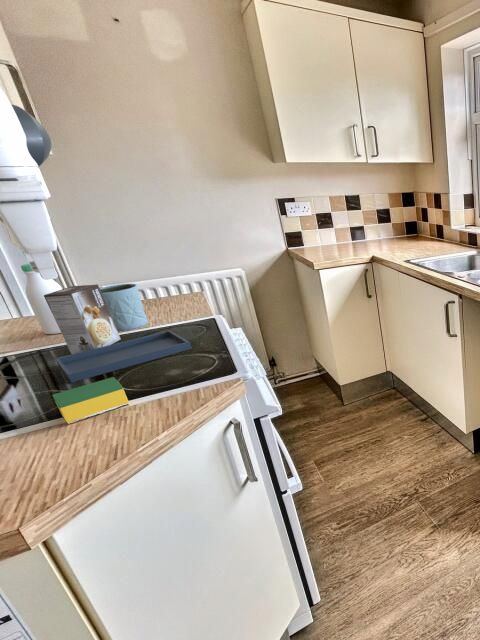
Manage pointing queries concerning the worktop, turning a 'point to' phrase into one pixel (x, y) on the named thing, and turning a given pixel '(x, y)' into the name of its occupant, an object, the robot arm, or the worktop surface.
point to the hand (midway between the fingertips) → (45, 275)
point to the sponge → (90, 399)
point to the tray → (121, 355)
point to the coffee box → (82, 317)
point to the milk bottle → (41, 299)
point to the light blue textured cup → (124, 306)
